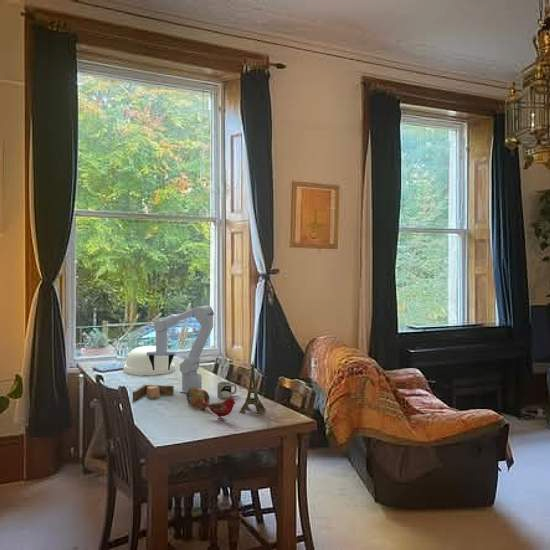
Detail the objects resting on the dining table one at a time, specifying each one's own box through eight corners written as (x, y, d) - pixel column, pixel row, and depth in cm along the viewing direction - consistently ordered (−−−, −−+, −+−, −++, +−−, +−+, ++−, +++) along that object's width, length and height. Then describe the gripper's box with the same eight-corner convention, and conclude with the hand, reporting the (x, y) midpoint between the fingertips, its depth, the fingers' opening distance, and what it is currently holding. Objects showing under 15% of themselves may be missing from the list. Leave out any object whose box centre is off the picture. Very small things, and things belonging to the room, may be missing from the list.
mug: (221, 399, 265) (221, 385, 264) (215, 396, 270) (215, 382, 270) (239, 396, 270) (239, 383, 270) (233, 393, 276) (233, 380, 275)
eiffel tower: (238, 413, 241) (238, 356, 240) (242, 407, 251) (243, 352, 250) (262, 415, 239) (262, 357, 239) (265, 408, 250) (266, 353, 249)
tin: (186, 404, 255) (186, 386, 255) (192, 403, 257) (192, 385, 257) (204, 411, 244) (204, 392, 243) (210, 410, 246) (210, 391, 245)
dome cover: (130, 365, 345) (130, 342, 345) (178, 365, 346) (178, 342, 346) (117, 376, 313) (117, 351, 313) (170, 376, 314) (171, 351, 314)
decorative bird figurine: (233, 423, 226) (234, 399, 226) (198, 417, 235) (198, 393, 235) (237, 421, 229) (237, 397, 229) (202, 415, 237) (202, 392, 237)
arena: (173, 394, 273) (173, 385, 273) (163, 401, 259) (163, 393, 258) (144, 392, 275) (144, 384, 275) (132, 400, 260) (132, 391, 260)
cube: (155, 394, 271) (155, 385, 270) (159, 396, 267) (159, 387, 267) (146, 396, 268) (146, 386, 268) (150, 398, 264) (150, 388, 264)
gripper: (146, 344, 280) (146, 371, 280) (175, 344, 282) (175, 371, 282) (147, 342, 287) (147, 368, 287) (175, 342, 289) (175, 368, 289)
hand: (161, 369), depth 285 cm, fingers open, 7 cm apart
